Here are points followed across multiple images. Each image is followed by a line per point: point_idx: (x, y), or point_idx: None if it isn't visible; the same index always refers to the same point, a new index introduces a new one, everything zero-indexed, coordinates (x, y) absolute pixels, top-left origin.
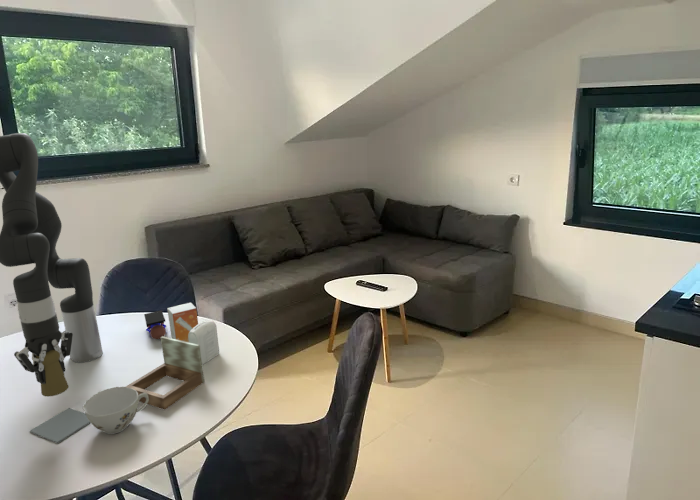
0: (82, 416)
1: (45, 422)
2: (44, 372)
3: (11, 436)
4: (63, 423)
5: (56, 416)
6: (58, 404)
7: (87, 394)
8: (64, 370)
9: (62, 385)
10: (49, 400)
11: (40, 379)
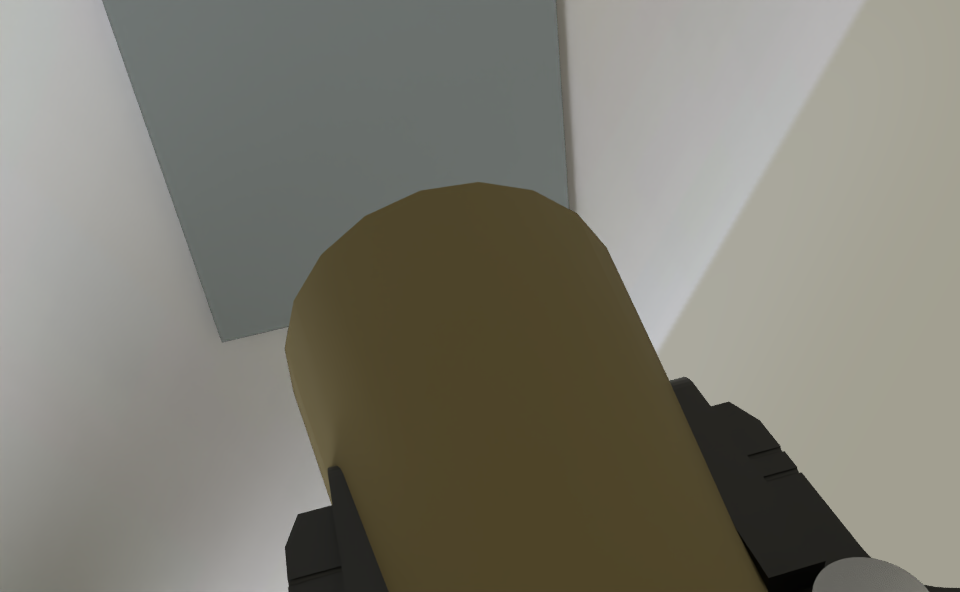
0: (193, 107)
1: None
2: (757, 532)
3: (654, 299)
4: (365, 143)
5: None
6: (257, 454)
7: (7, 438)
8: (306, 530)
9: (435, 257)
10: (280, 542)
11: (772, 450)
